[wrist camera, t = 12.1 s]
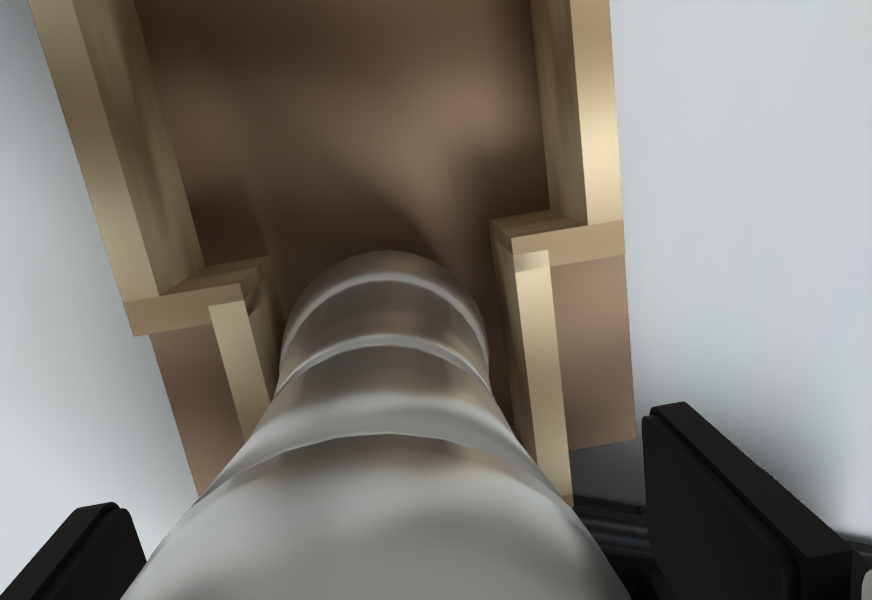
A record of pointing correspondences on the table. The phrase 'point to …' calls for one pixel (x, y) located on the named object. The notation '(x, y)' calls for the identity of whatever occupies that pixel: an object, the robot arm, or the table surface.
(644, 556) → the black drawer cabinet
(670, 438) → the robot arm
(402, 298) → the plastic bottle
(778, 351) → the table surface
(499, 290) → the keyhole plate
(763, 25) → the table surface
